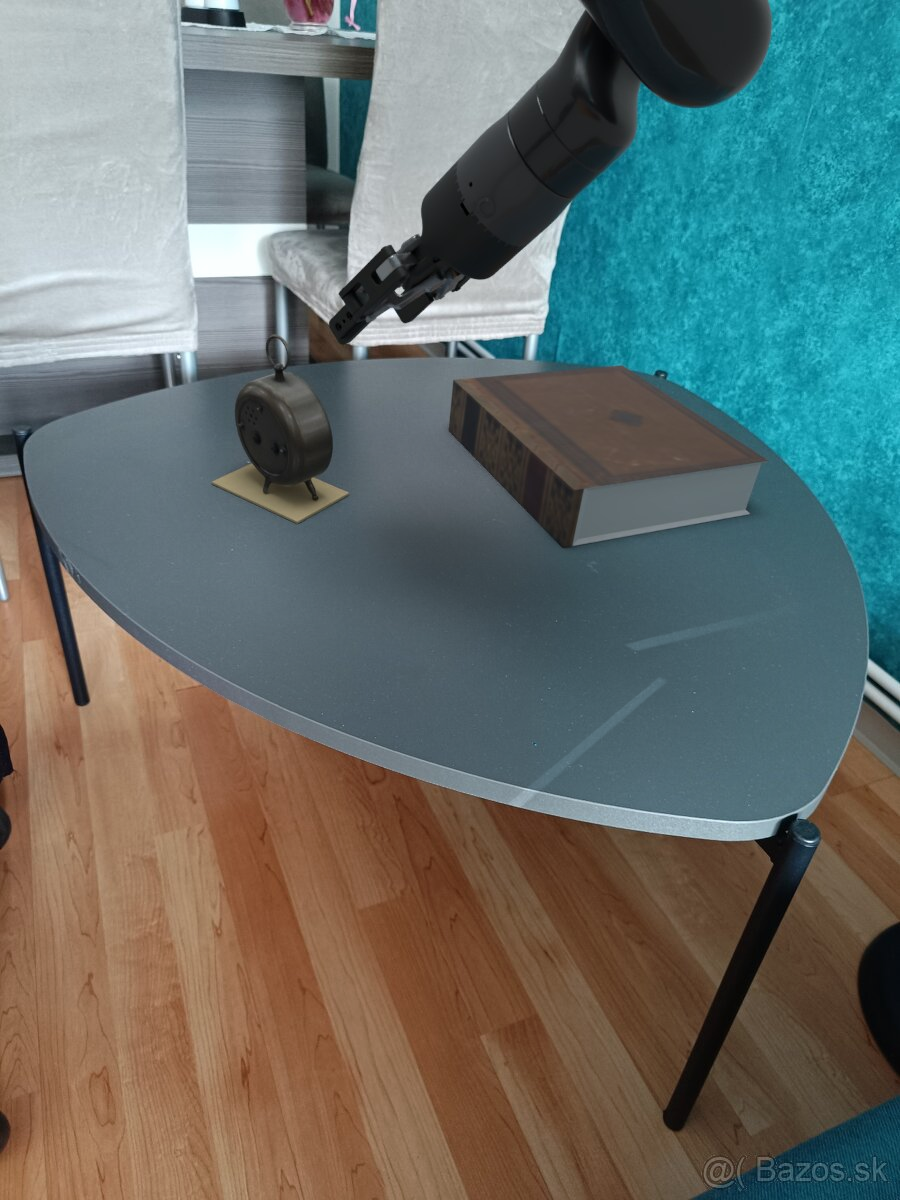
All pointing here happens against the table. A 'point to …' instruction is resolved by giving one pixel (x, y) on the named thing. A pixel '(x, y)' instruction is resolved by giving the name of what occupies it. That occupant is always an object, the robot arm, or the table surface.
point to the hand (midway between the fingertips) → (369, 323)
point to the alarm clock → (284, 427)
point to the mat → (280, 494)
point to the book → (601, 452)
